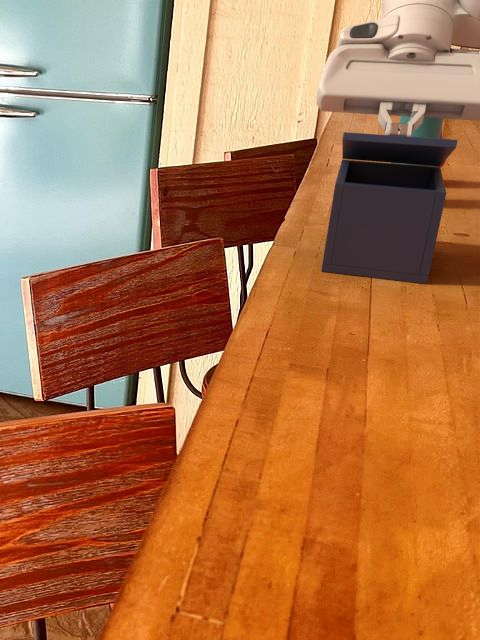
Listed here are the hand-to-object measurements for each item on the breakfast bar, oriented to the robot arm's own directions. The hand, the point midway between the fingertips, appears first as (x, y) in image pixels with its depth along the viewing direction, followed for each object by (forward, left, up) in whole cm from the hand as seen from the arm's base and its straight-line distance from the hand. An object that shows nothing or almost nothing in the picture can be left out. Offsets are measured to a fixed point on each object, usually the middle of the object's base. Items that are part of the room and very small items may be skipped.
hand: (397, 140), depth 106 cm
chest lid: (0, -2, -2) cm, 3 cm away
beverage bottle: (-12, -36, -16) cm, 41 cm away
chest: (0, -2, -16) cm, 16 cm away
